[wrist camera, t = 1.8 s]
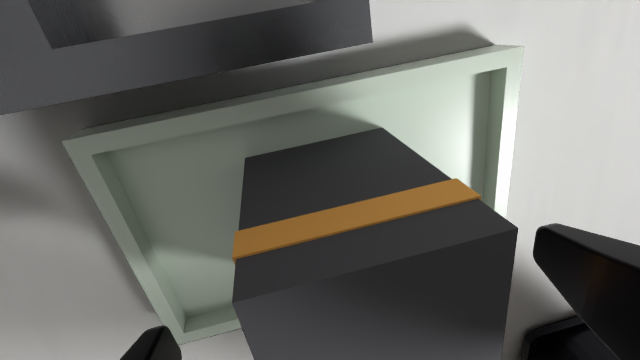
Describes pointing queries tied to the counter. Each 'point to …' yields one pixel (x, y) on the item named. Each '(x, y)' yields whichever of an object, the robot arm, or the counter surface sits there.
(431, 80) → the tray
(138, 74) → the strip
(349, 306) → the dark grey striped block
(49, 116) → the counter surface
